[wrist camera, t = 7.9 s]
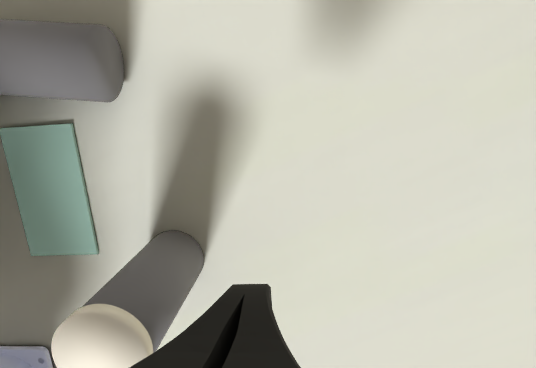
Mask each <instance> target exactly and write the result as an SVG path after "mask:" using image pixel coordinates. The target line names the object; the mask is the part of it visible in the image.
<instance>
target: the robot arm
mask: <svg viewBox="0 0 536 368" xmlns="http://www.w3.org/2000/svg"><path fill="white" fill-rule="evenodd" d="M0 368H53V365H52V362H51V358H50V354H49V351H48V349H47V348H45V347H42V346H0ZM129 368H301V367H300V366H299V365H298V363H297V362H296V360H295V358H294V357H293V355H292V354H291V352H290V350H289V348H288V346H287V345H286V343H285V341H284V339H283V337H282V334H281V332H280V330H279V327H278V325H277V322H276V320H275V317H274V313H273V310H272V301H271V287H270V286H269V285H268V284H237V285H232V286H231V287H230V288H229V289H228V290H227V291H226V292H225V293H224V294H223V295H222V296H221V297H220V298H219V299H218V300H217V301H216V302H215V303H214V304H213V305H212V306H211V307H210V308H209V309H208V310H207V311H206V312H205V313H204V314H203V315H202V316H201V317H199V318H198V319H197V320H196V321H195V322H194V323H193V324H191V325H190V326H189V327H188V328H187V329H186V330H185V331H183V332H182V333H181V334H180V335H178V336H177V337H176V338H174V339H173V340H172V341H170V342H169V343H167V344H166V345H164V346H163V347H162V348H160V349H159V350H157V351H156V352H154V353H152V354H151V355H149V356H147V357H146V358H144V359H142V360H141V361H139V362H138V363H136V364H134V365H133V366H131V367H129Z"/></svg>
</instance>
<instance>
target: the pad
mask: <svg viewBox="0 0 536 368" xmlns="http://www.w3.org/2000/svg"><path fill="white" fill-rule="evenodd" d="M0 136H1V140H2V144H3V148H4V152H5V156H6V160H7V164H8V168H9V171H10V175H11V179H12V183H13V187H14V191H15V195H16V199H17V203H18V207H19V211H20V215H21V218H22V222H23V226H24V230H25V234H26V238H27V242H28V246H29V250H30V254H31V256H48V255H88V254H98V253H99V251H98V246H97V241H96V236H95V231H94V226H93V222H92V217H91V212H90V207H89V202H88V197H87V192H86V187H85V182H84V177H83V172H82V167H81V162H80V158H79V153H78V148H77V143H76V138H75V133H74V128H73V123H71V124H56V125H41V126H26V127H11V128H0Z"/></svg>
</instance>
